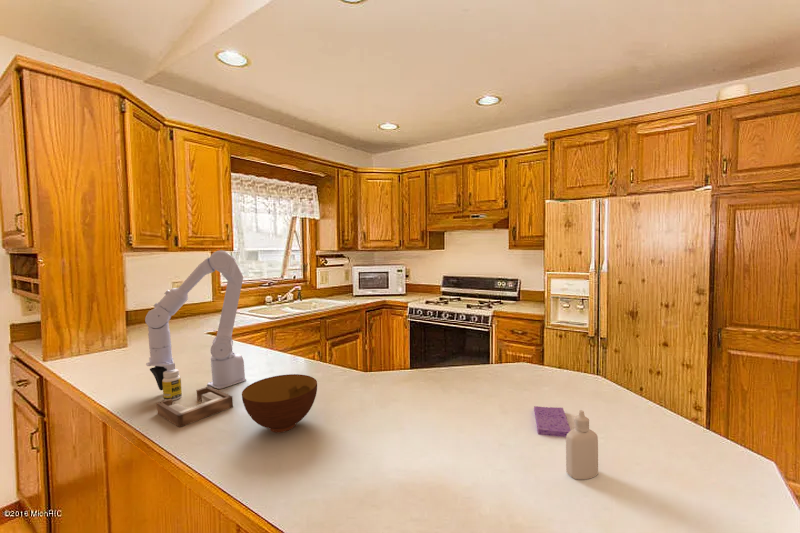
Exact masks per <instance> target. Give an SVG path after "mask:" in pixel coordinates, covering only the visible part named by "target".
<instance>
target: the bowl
mask: <svg viewBox="0 0 800 533" xmlns="http://www.w3.org/2000/svg"><path fill="white" fill-rule="evenodd" d="M317 392H318V382H317V379H316V378H314V377H313V376H310V375H306V374H298V373H297V374H295V373H294V374H293V373H292V374H281V375H276V376H270V377H266V378H262V379H260V380H257V381H255V382H253V383H251V384H249V385H247V386H246V387H245V388H244V389H242V392H241V398H242V404H243V406H244V410H245V411H246V412H247V414H248V416H249V418H251V419H252V420H253V421H254V422H255V423H256V424H257V425H258V426H261V427H264V428H266V429H269V430H270V432H273V433H285V432H288V431H290V429H291V430H293V429H294V428H295V427H294V426H296V425H297V424H298V423H299V422H300V421H302V420H303V419H304V418H305V417H306V416H307V415H308V414H309V412H310V410H311V409H312V408H313V407H312V406H313V405H314V403H315V400H316V397H317ZM293 427H294V428H293ZM284 431H285V432H284Z"/></svg>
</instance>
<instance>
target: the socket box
mask: <svg viewBox="0 0 800 533" xmlns="http://www.w3.org/2000/svg"><path fill="white" fill-rule="evenodd" d="M196 400H197V401H198V402H199V400H200V401H201V404H197V405H194V406H191V407H189V408H188V407H185V406H184V405H182V404H180V403H178V402H177V403H174V404H173V401H172V399H168V400H165V401H164V400H161V401H158V402H157V403H156V412H157V415H159V416H160V417H162V418H164V419H165V420H167V421H169V422H170V423H172V424H174V425H175V426H177V427H178V428H181V427H184V426H186V425H190V424H192V423H194V422H197V421H200V420H202V419H205V418H207V417H211V416H213V415H215V414H218V413H221V412H223V411H226V410H228V409H230V408H233V407H234V405H233V403H234V402H233V401H234V400H233V396H232V395H230V394H228V393H226V392H224V391H223V392H222V391H221V390H219V389H217V388H214V387H212V386H209V385H207V386H206V387H205V386H204V387H203V388H199V389H196Z"/></svg>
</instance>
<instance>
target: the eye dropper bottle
mask: <svg viewBox="0 0 800 533" xmlns="http://www.w3.org/2000/svg"><path fill="white" fill-rule="evenodd" d="M573 418H574V419H573V420H574V421H573V423H574V427H573V429H570V430H571V431H570V432H569V433H568V434H567V436H566V437H565V460H566V461H565V467H566V470H565V471H566V473H567V474H568V476H570V477H571V478H572V479H574V480H580V481H582V480H589V479H592V478H595V477H596V476H597V475H598V474H599V436H598V433H596V432H595V431H594V430H592V429H590V419H589V417H587V416H585V411H584V410H582V409H580V410H579V412H578V415H575V416H574V417H573Z"/></svg>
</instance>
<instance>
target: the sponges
mask: <svg viewBox="0 0 800 533" xmlns="http://www.w3.org/2000/svg"><path fill="white" fill-rule="evenodd" d="M533 411H534V416H535V417H534V418H535V423H536V429H537V430H536V431H537V435H540V436H541V435H542V436H552V437H562V438H563V437H564V438H566V436H567V434H568V433H569V432H570V431H571V430H572V429H571V427H570V426H569V422H568V419H567V416H566V413H565V410H564V408H563V407H556V406H555V407H551V406H550V407H547V406H536V405H535V406H533Z"/></svg>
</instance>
